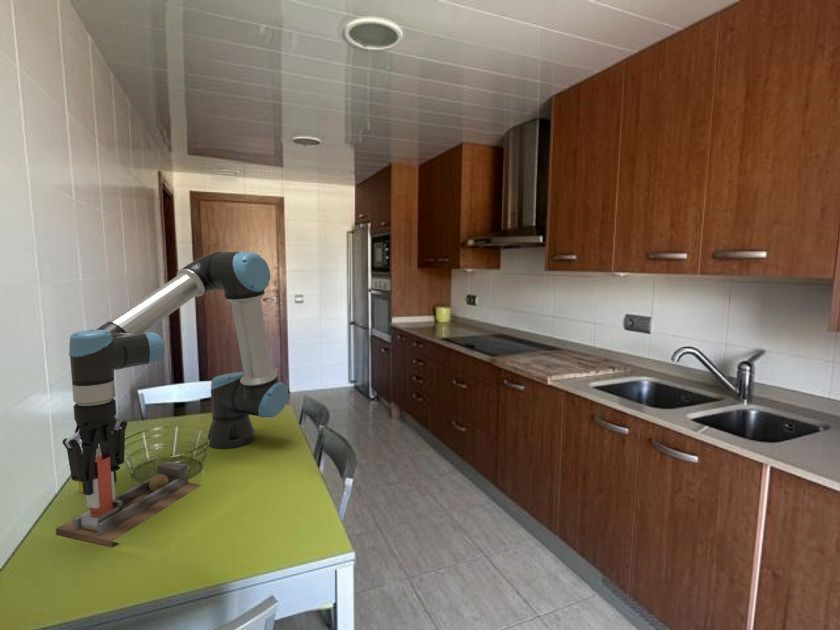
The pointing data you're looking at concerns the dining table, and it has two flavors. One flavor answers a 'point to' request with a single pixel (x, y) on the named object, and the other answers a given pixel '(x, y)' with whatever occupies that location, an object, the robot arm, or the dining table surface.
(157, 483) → the nut
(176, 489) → the base
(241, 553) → the dining table surface
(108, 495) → the lever
